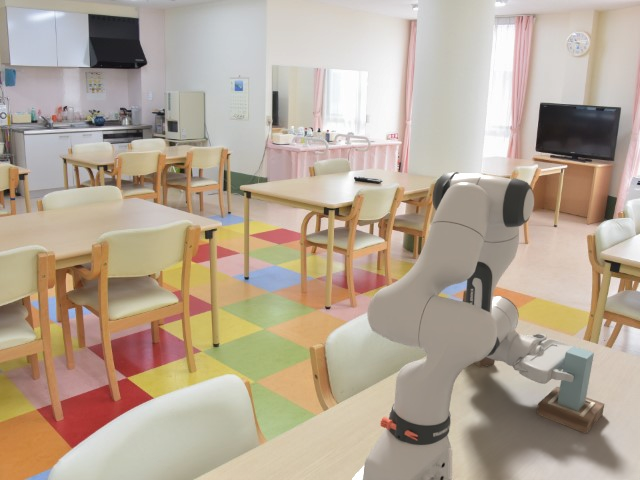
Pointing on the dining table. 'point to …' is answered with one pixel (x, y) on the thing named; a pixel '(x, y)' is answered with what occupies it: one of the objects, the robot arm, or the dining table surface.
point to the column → (576, 378)
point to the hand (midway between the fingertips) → (580, 372)
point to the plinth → (570, 412)
